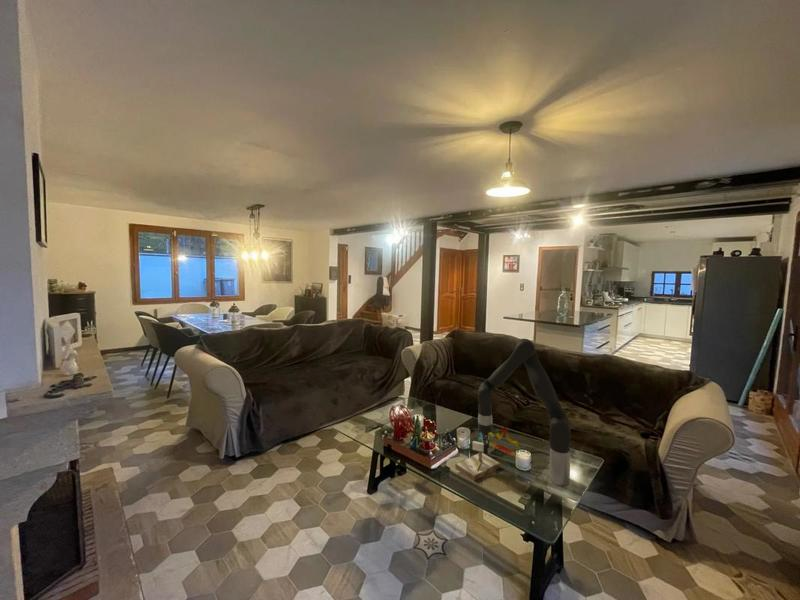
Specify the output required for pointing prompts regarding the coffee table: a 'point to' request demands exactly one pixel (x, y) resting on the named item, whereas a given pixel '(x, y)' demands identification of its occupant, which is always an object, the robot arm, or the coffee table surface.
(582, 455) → the coffee table surface
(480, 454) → the wooden mallet
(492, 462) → the desk tray with supplies
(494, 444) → the chart
